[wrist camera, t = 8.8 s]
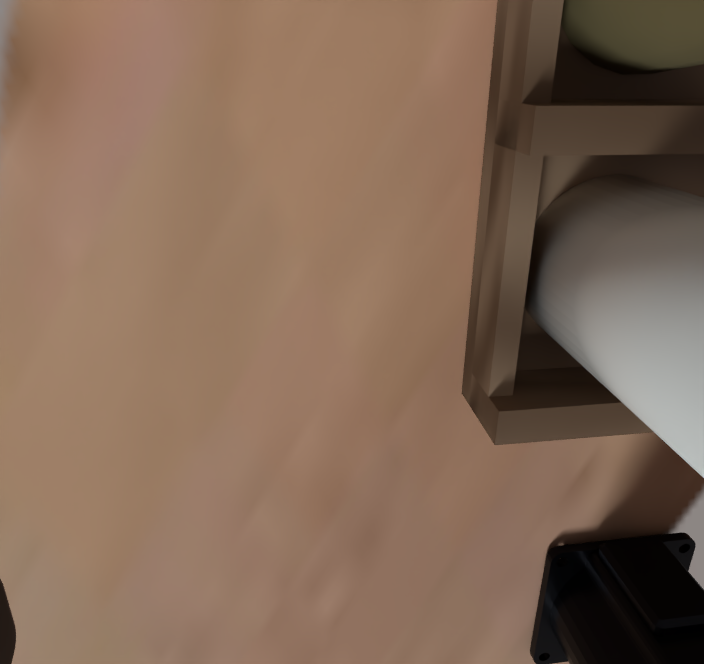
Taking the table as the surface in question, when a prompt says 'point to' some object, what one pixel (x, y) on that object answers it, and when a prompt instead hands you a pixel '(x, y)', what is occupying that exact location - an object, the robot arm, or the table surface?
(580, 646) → the robot arm
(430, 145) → the table surface
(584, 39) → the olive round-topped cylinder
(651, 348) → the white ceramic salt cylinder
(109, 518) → the table surface
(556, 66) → the walnut slot rack
